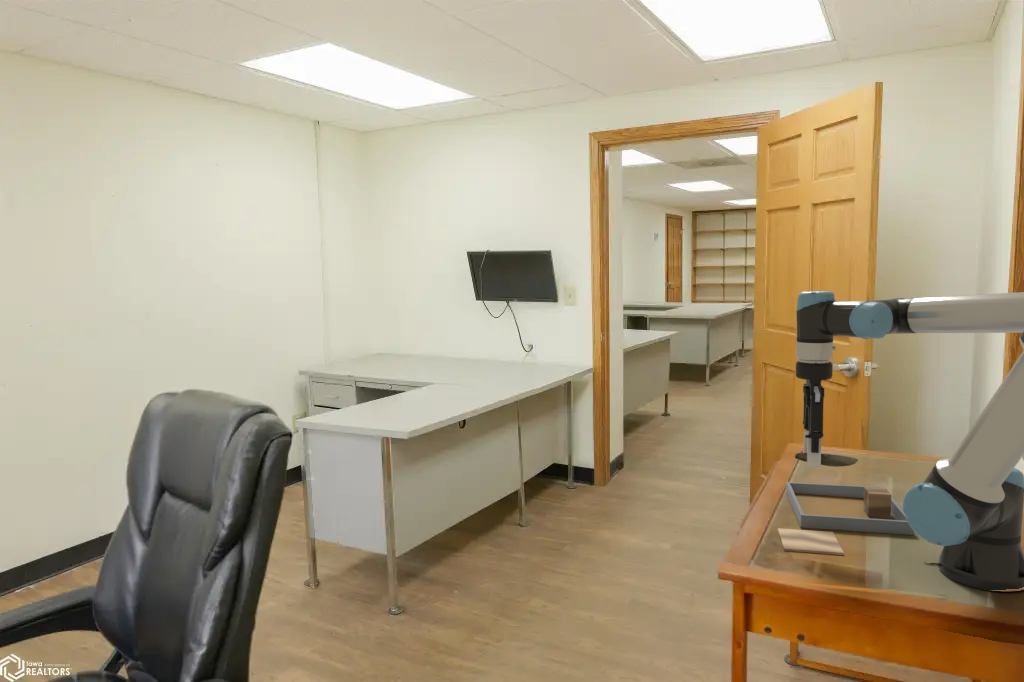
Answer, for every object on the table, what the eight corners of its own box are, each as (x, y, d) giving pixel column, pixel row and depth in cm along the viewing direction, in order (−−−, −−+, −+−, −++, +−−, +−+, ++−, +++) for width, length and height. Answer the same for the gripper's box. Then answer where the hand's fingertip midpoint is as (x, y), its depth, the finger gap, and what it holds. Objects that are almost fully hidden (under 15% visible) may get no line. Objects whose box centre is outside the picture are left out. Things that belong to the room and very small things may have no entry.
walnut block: (890, 518, 167) (891, 494, 166) (868, 517, 168) (868, 493, 168) (885, 511, 172) (885, 488, 171) (863, 510, 173) (863, 487, 172)
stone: (859, 466, 151) (859, 456, 151) (855, 471, 147) (855, 461, 147) (796, 458, 158) (797, 448, 158) (791, 463, 154) (791, 453, 154)
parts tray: (913, 535, 156) (913, 522, 156) (800, 527, 162) (800, 515, 162) (882, 498, 181) (882, 487, 181) (786, 492, 187) (786, 481, 187)
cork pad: (844, 555, 146) (844, 552, 146) (784, 550, 149) (784, 548, 149) (832, 534, 158) (832, 532, 158) (777, 530, 161) (777, 528, 161)
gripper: (839, 366, 142) (837, 475, 144) (826, 355, 160) (823, 452, 162) (800, 366, 144) (798, 473, 146) (791, 355, 162) (789, 450, 164)
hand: (811, 462), depth 154 cm, fingers closed on stone, 6 cm apart
